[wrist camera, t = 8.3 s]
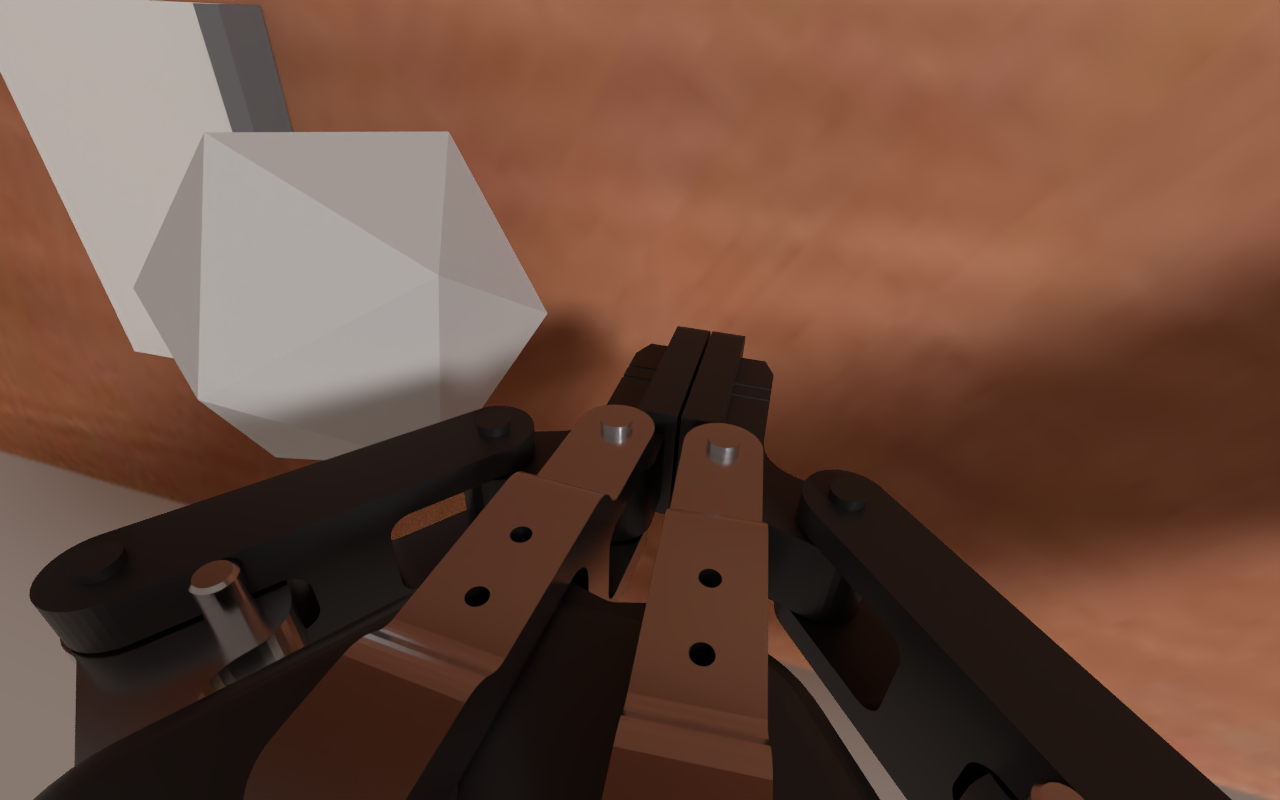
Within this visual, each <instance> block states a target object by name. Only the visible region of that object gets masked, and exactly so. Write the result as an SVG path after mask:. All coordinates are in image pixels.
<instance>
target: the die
mask: <svg viewBox="0 0 1280 800" xmlns="http://www.w3.org/2000/svg"><path fill="white" fill-rule="evenodd" d="M133 289H134V290H135V292H136V294H137V295H138V297H139V299H140V301H141V302H142V304H143V306H144V308H145V309H146V311H147V313H148V314H149V316H150V318H151V320H152V321H153V323H154V325H155V327H156V328H157V330H158V332H159V334H160V335H161V337H162V339H163V340H164V342H165V344H166V346H167V347H168V349H169V351H170V353H171V354H172V356H173V358H174V359H175V361H176V363H177V365H178V366H179V368H180V370H181V372H182V373H183V375H184V377H185V378H186V380H187V382H188V384H189V385H190V387H191V389H192V391H193V392H194V394H195V396H196V397H197V399H198V400H199V401H200V402H202V403H203V404H204V405H206V406H207V407H208V408H210V409H211V410H212V411H214V412H215V413H216V414H218V415H219V416H221V417H222V418H223V419H225V420H226V421H227V422H229V423H230V424H231V425H233V426H234V427H235V428H237V429H238V430H239V431H241V432H242V433H243V434H245V435H246V436H248V437H249V438H250V439H252V440H253V441H254V442H256V443H257V444H258V445H260V446H261V447H262V448H264V449H265V450H266V451H268V452H269V453H270V454H272V455H273V456H275V457H277V458H294V459H310V460H327V459H330V458H333V457H336V456H339V455H342V454H345V453H348V452H351V451H354V450H357V449H360V448H363V447H366V446H369V445H372V444H375V443H378V442H381V441H384V440H387V439H390V438H393V437H396V436H399V435H402V434H405V433H408V432H411V431H414V430H417V429H420V428H423V427H426V426H429V425H433V424H436V423H439V422H442V421H445V420H448V419H451V418H454V417H457V416H460V415H463V414H466V413H469V412H472V411H475V410H478V409H481V408H482V407H483V406H484V404H485V403H486V402H487V400H488V399H489V397H490V396H491V394H492V393H493V392H494V390H495V389H496V387H497V386H498V384H499V383H500V381H501V380H502V379H503V377H504V376H505V374H506V373H507V371H508V370H509V368H510V367H511V366H512V364H513V363H514V361H515V360H516V358H517V357H518V355H519V354H520V353H521V351H522V350H523V348H524V347H525V345H526V344H527V342H528V341H529V340H530V338H531V337H532V335H533V334H534V332H535V331H536V330H537V328H538V327H539V325H540V324H541V322H542V321H543V319H544V318H545V317H546V315H547V314H548V313H547V312H546V310H545V308H544V306H543V304H542V302H541V301H540V299H539V297H538V295H537V293H536V291H535V290H534V288H533V286H532V284H531V282H530V280H529V279H528V277H527V275H526V273H525V271H524V269H523V267H522V266H521V264H520V262H519V260H518V258H517V256H516V255H515V253H514V251H513V249H512V247H511V245H510V244H509V242H508V240H507V238H506V236H505V234H504V233H503V231H502V229H501V227H500V225H499V223H498V221H497V220H496V218H495V216H494V214H493V212H492V210H491V209H490V207H489V205H488V203H487V201H486V199H485V198H484V196H483V194H482V192H481V190H480V188H479V187H478V185H477V183H476V181H475V179H474V177H473V175H472V174H471V172H470V170H469V168H468V166H467V164H466V163H465V161H464V159H463V157H462V155H461V153H460V152H459V150H458V148H457V146H456V144H455V142H454V141H453V139H452V137H451V135H450V133H449V132H204V134H203V136H202V138H201V140H200V142H199V145H198V147H197V149H196V151H195V153H194V156H193V158H192V160H191V162H190V164H189V167H188V169H187V171H186V173H185V175H184V178H183V180H182V182H181V184H180V186H179V189H178V191H177V193H176V195H175V197H174V199H173V202H172V204H171V206H170V208H169V210H168V213H167V215H166V217H165V219H164V221H163V224H162V226H161V228H160V230H159V232H158V235H157V237H156V239H155V241H154V243H153V246H152V248H151V250H150V252H149V254H148V256H147V259H146V261H145V263H144V265H143V267H142V270H141V272H140V274H139V276H138V278H137V281H136V283H135V285H134V287H133Z"/></svg>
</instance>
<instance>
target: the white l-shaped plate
mask: <svg viewBox="0 0 1280 800" xmlns="http://www.w3.org/2000/svg"><path fill="white" fill-rule="evenodd" d="M0 72H1V74H2V76H3V78H4V80H5V82H6V84H7V87H8V89H9V91H10V93H11V95H12V97H13V99H14V101H15V103H16V105H17V107H18V109H19V112H20V114H21V116H22V118H23V120H24V122H25V124H26V126H27V128H28V130H29V132H30V134H31V137H32V139H33V141H34V143H35V145H36V147H37V149H38V151H39V153H40V155H41V157H42V159H43V162H44V164H45V166H46V168H47V170H48V172H49V174H50V176H51V178H52V180H53V182H54V184H55V186H56V189H57V191H58V193H59V195H60V197H61V199H62V201H63V203H64V205H65V207H66V209H67V211H68V214H69V216H70V218H71V220H72V222H73V224H74V226H75V228H76V230H77V232H78V234H79V236H80V239H81V241H82V243H83V245H84V247H85V249H86V251H87V253H88V255H89V257H90V259H91V261H92V264H93V266H94V268H95V270H96V272H97V274H98V276H99V278H100V280H101V282H102V284H103V286H104V289H105V291H106V293H107V295H108V297H109V299H110V301H111V303H112V305H113V307H114V309H115V311H116V314H117V316H118V318H119V320H120V322H121V324H122V326H123V328H124V330H125V332H126V334H127V336H128V339H129V341H130V343H131V345H132V347H133V349H134V351H137V352H142V353H148V354H153V355H159V356H164V357H170V358H173V356H172V354H171V353H170V351H169V349H168V347H167V346H166V344H165V342H164V340H163V339H162V337H161V335H160V334H159V332H158V330H157V328H156V327H155V325H154V323H153V321H152V320H151V318H150V316H149V314H148V313H147V311H146V309H145V308H144V306H143V304H142V302H141V301H140V299H139V297H138V295H137V294H136V292H135V290H134V289H133V287H134V285H135V283H136V281H137V278H138V276H139V274H140V272H141V270H142V267H143V265H144V263H145V261H146V259H147V256H148V254H149V252H150V250H151V248H152V246H153V243H154V241H155V239H156V237H157V235H158V232H159V230H160V228H161V226H162V224H163V221H164V219H165V217H166V215H167V213H168V210H169V208H170V206H171V204H172V202H173V199H174V197H175V195H176V193H177V191H178V189H179V186H180V184H181V182H182V180H183V178H184V175H185V173H186V171H187V169H188V167H189V164H190V162H191V160H192V158H193V156H194V153H195V151H196V149H197V147H198V145H199V142H200V140H201V138H202V136H203V134H204V132H293V131H292V128H291V124H290V120H289V116H288V112H287V108H286V104H285V100H284V96H283V93H282V89H281V85H280V81H279V77H278V73H277V69H276V65H275V62H274V58H273V54H272V50H271V46H270V42H269V38H268V34H267V31H266V27H265V23H264V19H263V15H262V11H261V7H260V6H257V5H236V4H215V3H195V2H174V1H153V0H0Z"/></svg>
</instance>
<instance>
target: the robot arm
mask: <svg viewBox="0 0 1280 800" xmlns="http://www.w3.org/2000/svg"><path fill="white" fill-rule="evenodd" d="M744 344H745V336H740V335H734V334H727V333H721V332H714V331H713V332H712V334H711V332H710V331H707V330H700V329H693V328H687V327H680V326H678V327H677V329H676V331H675V333H674V335H673V337H672V339H671V341H670V343H669V345H668V346H663V345H656V344H650V345H649V346H647V347H645V348H644V349H642V350H640V351H639V352H637V353H636V354H635V356H634V358H633V360H632V361H631V363H630V365H629V367H628V368H627V370H626V372H625V374H624V377H622V379H621V381H620V383H619V384H618V386H617V388H616V390H615V391H614V393H613V395H612V397H611V398H610V400H609V402H608V404H607V405H605V406H600V407H597V408H594V409H592V410H590V411H588V412H587V413H585V414H584V415H583V416H582V417H581V418H580V420H579V421H578V422H577V424H576V425H575V426H574V427H573V429H572V430H568V431H548V432H534V423H533V420H532V418H531V417H530V416H529V415H528V414H527V413H526V412H524V411H522V410H520V409H517V408H513V407H507V406H492V407H486V408H481V409H478V410H475V411H472V412H469V413H466V414H463V415H460V416H457V417H454V418H451V419H448V420H445V421H442V422H439V423H436V424H433V425H429V426H426V427H423V428H420V429H417V430H414V431H411V432H408V433H405V434H402V435H399V436H396V437H393V438H390V439H387V440H384V441H381V442H378V443H375V444H372V445H369V446H366V447H363V448H360V449H357V450H354V451H351V452H348V453H345V454H342V455H339V456H336V457H333V458H330V459H327V460H324V461H321V462H318V463H315V464H312V465H309V466H306V467H303V468H300V469H297V470H294V471H291V472H288V473H285V474H282V475H279V476H276V477H273V478H270V479H267V480H264V481H261V482H258V483H255V484H252V485H249V486H246V487H243V488H240V489H237V490H234V491H231V492H228V493H225V494H222V495H219V496H215V497H212V498H209V499H206V500H203V501H200V502H197V503H194V504H191V505H188V506H185V507H182V508H179V509H176V510H173V511H170V512H167V513H164V514H161V515H158V516H155V517H152V518H149V519H146V520H143V521H140V522H137V523H134V524H131V525H128V526H125V527H122V528H119V529H117V530H113V531H110V532H107V533H104V534H101V535H98V536H96V537H93V538H90V539H88V540H86V541H83V542H81V543H79V544H77V545H75V546H74V547H72V548H70V549H68V550H67V551H65V552H63V553H62V554H60V555H59V556H58V557H56V558H55V559H54V560H52V561H51V562H50V563H49V564H48V565H47V566H45V567H44V568H43V570H42V571H41V572H40V573H39V574H38V575H37V577H36V578H35V580H34V581H33V583H32V586H31V588H30V599H31V602H32V603H33V604H34V605H35V607H36V608H37V609H38V611H39V612H40V613H41V614H42V616H43V617H44V618H45V619H46V621H47V622H48V623H49V624H50V626H51V627H52V628H53V630H54V631H55V632H56V633H57V635H58V636H59V637H60V642H61V645H62V647H63V649H64V650H65V651H66V652H67V654H68V655H69V656H70V657H71V659H72V660H73V661H74V663H75V664H76V666H77V667H76V717H75V721H76V722H75V767H74V768H72V769H70V770H69V771H68V772H66V773H65V774H64V775H63V776H61V777H60V778H59V779H57V780H56V781H55V782H53V783H52V784H51V785H49V786H48V787H47V788H46V789H45V790H44V791H42V792H41V793H40V794H39V795H38V796H37V797H36V798H35V799H34V800H880V799H879V797H878V796H877V794H876V793H875V791H874V789H873V788H872V786H871V785H870V783H869V782H868V780H867V779H866V777H865V776H864V774H863V772H862V771H861V770H860V768H859V766H858V765H857V763H856V762H855V760H854V759H853V757H852V755H851V754H850V752H849V751H848V749H847V748H846V746H845V745H844V743H843V742H842V740H841V739H840V737H839V735H838V734H837V732H836V731H835V729H834V728H833V726H832V725H831V723H830V722H829V720H828V718H827V717H826V715H825V714H824V712H823V711H822V709H821V708H820V706H819V705H818V704H817V702H816V701H815V699H814V698H813V696H812V695H811V694H810V693H809V692H808V691H807V689H806V688H805V687H804V686H803V684H802V683H801V682H800V681H799V680H798V679H797V678H796V677H795V676H794V675H793V674H792V673H791V672H790V671H789V670H788V669H787V668H786V667H785V666H783V665H782V664H781V663H780V662H778V661H777V660H776V659H775V658H773V657H772V656H770V655H769V654H768V598H769V599H771V600H773V601H774V610H775V614H776V616H777V619H778V620H779V622H780V623H781V625H782V626H783V628H784V629H785V630H786V632H787V633H788V635H789V636H790V637H791V639H792V640H793V642H794V643H795V644H796V646H797V647H798V649H799V650H800V651H801V653H802V654H803V655H804V657H805V658H806V660H807V661H808V662H809V664H810V665H811V667H812V668H813V669H814V671H815V672H816V674H817V675H818V676H819V678H820V679H821V680H822V682H823V683H824V685H825V686H826V687H827V689H828V690H829V692H830V693H831V694H832V696H833V697H834V699H835V700H836V701H837V703H838V704H839V705H840V707H841V708H842V710H843V711H844V712H845V714H846V715H847V717H848V718H849V719H850V721H851V722H852V724H853V725H854V726H855V728H856V729H857V731H858V732H859V733H860V735H861V736H862V737H863V739H864V740H865V742H866V743H867V744H868V746H869V747H870V749H871V750H872V751H873V753H874V754H875V756H876V757H877V758H878V760H879V761H880V762H881V764H882V765H883V767H884V768H885V769H886V771H887V772H888V773H889V775H890V776H891V778H892V779H893V781H894V782H895V783H896V785H897V786H898V788H899V789H900V790H901V792H902V793H903V795H904V796H905V797H906V799H907V800H1231V799H1230V798H1229V797H1228V796H1227V795H1226V794H1225V793H1224V792H1222V791H1221V790H1220V789H1219V788H1218V787H1217V786H1216V785H1215V784H1213V783H1212V782H1211V781H1210V780H1209V779H1208V778H1207V777H1206V776H1204V775H1203V774H1202V773H1201V772H1200V771H1199V770H1198V769H1197V768H1195V767H1194V766H1193V765H1192V764H1191V763H1190V762H1189V761H1188V760H1186V759H1185V758H1184V757H1183V756H1182V755H1181V754H1180V753H1179V752H1177V751H1176V750H1175V749H1174V748H1173V747H1172V746H1171V745H1170V744H1169V743H1167V742H1166V741H1165V740H1164V739H1163V738H1162V737H1161V736H1160V735H1158V734H1157V733H1156V732H1155V731H1154V730H1153V729H1152V728H1151V727H1149V726H1148V725H1147V724H1146V723H1145V722H1144V721H1143V720H1142V719H1140V718H1139V717H1138V716H1137V715H1136V714H1135V713H1134V712H1133V711H1131V710H1130V709H1129V708H1128V707H1127V706H1126V705H1125V704H1124V703H1122V702H1121V701H1120V700H1119V699H1118V698H1117V697H1116V696H1115V695H1113V694H1112V693H1111V692H1110V691H1109V690H1108V689H1107V688H1106V687H1104V686H1103V685H1102V684H1101V683H1100V682H1099V681H1098V680H1097V679H1095V678H1094V677H1093V676H1092V675H1091V674H1090V673H1089V672H1088V671H1086V670H1085V669H1084V668H1083V667H1082V666H1081V665H1080V664H1079V663H1077V662H1076V661H1075V660H1074V659H1073V658H1072V657H1071V656H1070V655H1068V654H1067V653H1066V652H1065V651H1064V650H1063V649H1062V648H1061V647H1060V646H1058V645H1057V644H1056V643H1055V642H1054V641H1053V640H1052V639H1051V638H1049V637H1048V636H1047V635H1046V634H1045V633H1044V632H1043V631H1042V630H1040V629H1039V628H1038V627H1037V626H1036V625H1035V624H1034V623H1033V622H1031V621H1030V620H1029V619H1028V618H1027V617H1026V616H1025V615H1024V614H1022V613H1021V612H1020V611H1019V610H1018V609H1017V608H1016V607H1015V606H1013V605H1012V604H1011V603H1010V602H1009V601H1008V600H1007V599H1006V598H1004V597H1003V596H1002V595H1001V594H1000V593H999V592H998V591H997V590H995V589H994V588H993V587H992V586H991V585H990V584H989V583H988V582H986V581H985V580H984V579H983V578H982V577H981V576H980V575H979V574H977V573H976V572H975V571H974V570H973V569H972V568H971V567H970V566H968V565H967V564H966V563H965V562H964V561H963V560H962V559H961V558H960V557H958V556H957V555H956V554H955V553H954V552H953V551H952V550H951V549H949V548H948V547H947V546H946V545H945V544H944V543H943V542H942V541H940V540H939V539H938V538H937V537H936V536H935V535H934V534H933V533H931V532H930V531H929V530H928V529H927V528H926V527H925V526H924V525H922V524H921V523H920V522H919V521H918V520H917V519H916V518H915V517H913V516H912V515H911V514H910V513H909V512H908V511H907V510H906V509H904V508H903V507H902V506H901V505H900V504H899V503H898V502H897V501H895V500H894V499H893V498H892V497H891V496H890V495H889V494H888V493H886V492H885V491H884V490H883V489H882V488H881V487H880V486H878V485H877V484H876V483H874V482H873V481H871V480H869V479H867V478H865V477H863V476H861V475H858V474H855V473H852V472H848V471H842V470H824V471H819V472H817V473H814V474H812V475H811V476H809V477H808V478H807V479H806V480H805V481H803V480H801V479H799V478H796V477H794V476H792V475H790V474H788V473H786V472H784V471H782V470H781V469H779V468H778V467H777V466H776V465H774V464H773V463H772V462H771V461H770V459H769V458H768V457H767V455H766V453H765V451H764V436H765V429H766V422H767V416H768V409H769V401H770V395H771V388H772V381H773V373H772V372H771V370H770V368H769V367H768V365H767V364H766V362H764V361H758V360H752V359H745V358H742V357H743V351H744ZM462 492H464V494H465V500H466V506H467V510H465V511H463V512H461V513H458V514H456V515H453V516H451V517H449V518H446V519H444V520H442V521H439V522H437V523H434V524H432V525H430V526H427V527H425V528H423V529H420V530H418V531H416V532H413V533H411V534H408V535H406V536H404V537H401V538H399V539H396V540H391V532H392V529H393V527H394V526H395V524H396V523H397V522H398V521H399V520H400V519H401V518H403V517H404V516H406V515H408V514H410V513H412V512H415V511H417V510H420V509H422V508H425V507H427V506H430V505H432V504H435V503H437V502H440V501H442V500H444V499H447V498H449V497H452V496H454V495H457V494H459V493H462ZM655 512H658V513H663V514H665V518H664V522H663V527H662V532H661V537H660V541H659V546H658V551H657V556H656V560H655V565H654V570H653V574H652V579H651V584H650V589H649V593H648V598H647V603H623V602H620V600H621V598H622V595H623V593H624V591H625V589H626V587H627V584H628V582H629V580H630V578H631V576H632V573H633V571H634V569H635V567H636V565H637V562H638V560H639V558H640V556H641V554H642V551H643V549H644V547H645V545H646V542H647V535H648V528H649V526H650V524H651V522H652V519H653V516H654V513H655Z"/></svg>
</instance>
